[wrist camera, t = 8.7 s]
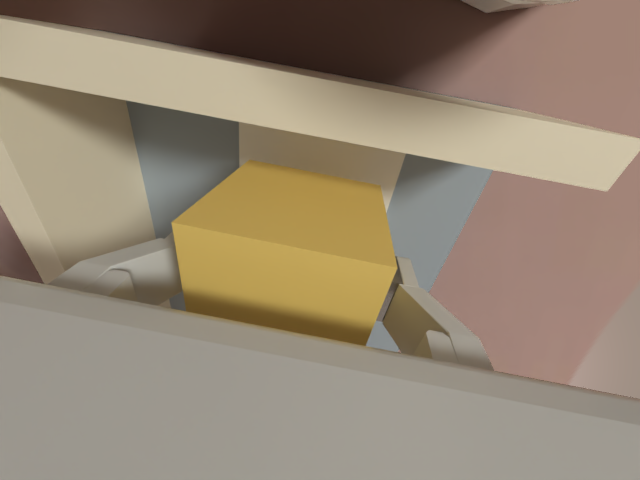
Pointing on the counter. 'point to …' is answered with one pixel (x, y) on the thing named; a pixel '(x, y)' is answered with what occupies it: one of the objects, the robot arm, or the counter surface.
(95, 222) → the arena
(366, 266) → the cube
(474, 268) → the counter surface
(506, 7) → the white cup
